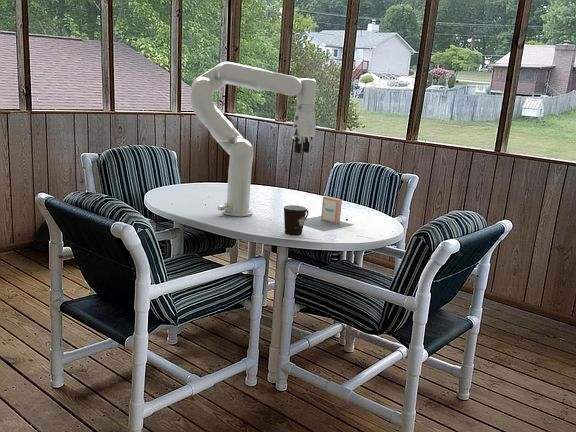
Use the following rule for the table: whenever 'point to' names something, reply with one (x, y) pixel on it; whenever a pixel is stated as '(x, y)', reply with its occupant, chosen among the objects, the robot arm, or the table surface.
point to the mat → (323, 224)
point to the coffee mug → (294, 219)
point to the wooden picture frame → (331, 210)
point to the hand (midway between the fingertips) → (301, 152)
